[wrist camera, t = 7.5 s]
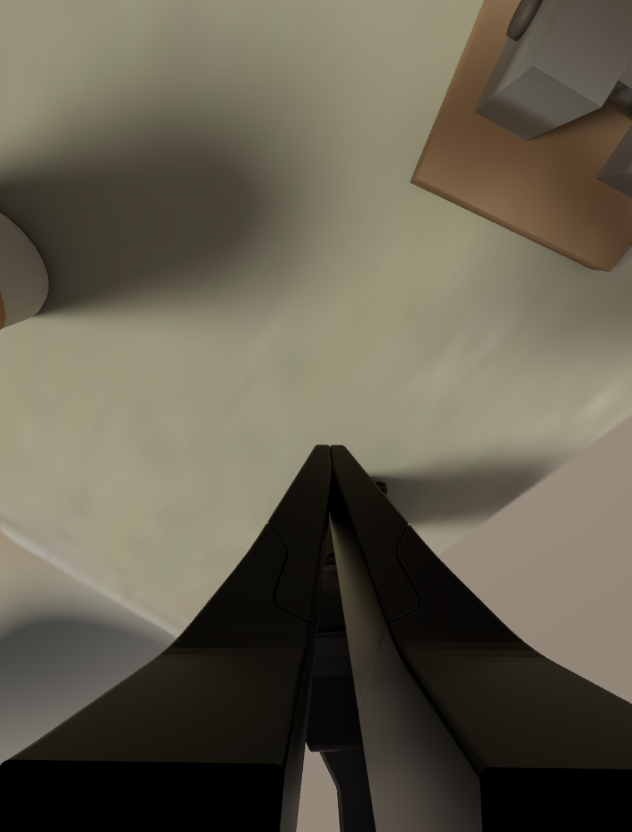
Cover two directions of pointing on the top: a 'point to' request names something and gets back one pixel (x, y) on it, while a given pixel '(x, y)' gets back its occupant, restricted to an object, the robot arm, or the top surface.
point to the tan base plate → (540, 127)
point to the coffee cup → (19, 275)
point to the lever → (622, 94)
